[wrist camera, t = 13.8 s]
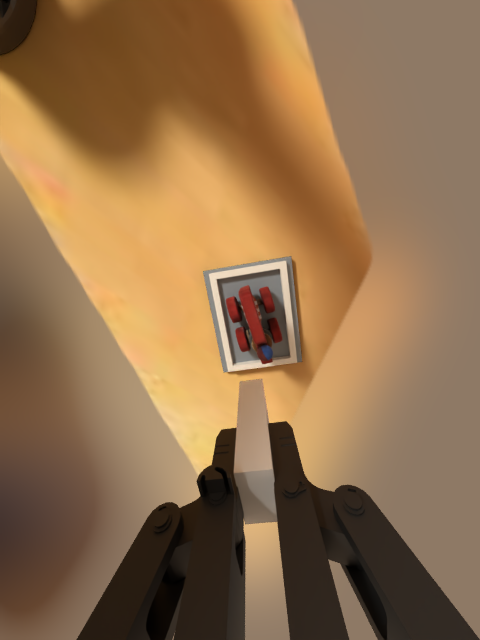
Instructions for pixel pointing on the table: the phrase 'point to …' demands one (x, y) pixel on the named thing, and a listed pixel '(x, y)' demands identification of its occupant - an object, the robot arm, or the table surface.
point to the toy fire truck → (255, 322)
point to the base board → (283, 293)
